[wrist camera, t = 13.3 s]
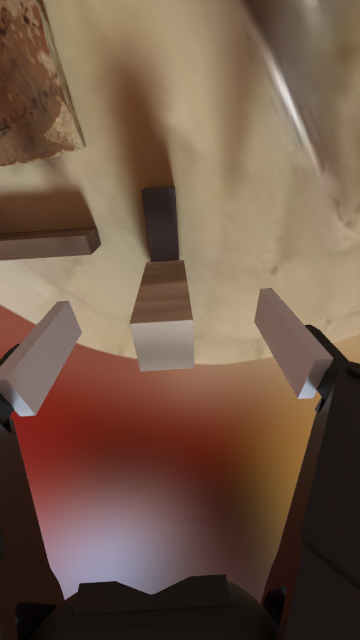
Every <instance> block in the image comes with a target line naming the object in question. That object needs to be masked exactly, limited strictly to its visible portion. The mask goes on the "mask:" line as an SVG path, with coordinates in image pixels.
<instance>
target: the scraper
mask: <svg viewBox="0 0 360 640" xmlns="http://www.w3.org/2000/svg"><path fill="white" fill-rule="evenodd" d="M142 198H143V205H144V213H145V220H146V228H147V235H148V242H149V250H150V257H151V262H146V266H145V270H144V273H143V277H142V280H141V284H140V288H139V291H138V295H137V299H136V302H135V306H134V309H133V313H132V317H131V320H130V328H131V333H132V337H133V341H134V345H135V350H136V354H137V358H138V362H139V367H140V371H151V370H166V369H182V368H194V350H193V317H192V311H191V304H190V298H189V291H188V285H187V278H186V272H185V265H184V260H179V250H178V232H177V214H176V196H175V186H171V187H155V188H145V189H143V190H142Z"/></svg>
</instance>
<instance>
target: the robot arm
mask: <svg viewBox="0 0 360 640" xmlns="http://www.w3.org/2000/svg"><path fill="white" fill-rule="evenodd" d="M254 322H255V324H256V326H257V327H258V329H259V331H260V333H261V334H262V336H263V338H264V340H265V341H266V343H267V345H268V347H269V349H270V350H271V352H272V354H273V356H274V357H275V359H276V361H277V363H278V364H279V366H280V368H281V370H282V372H283V373H284V375H285V377H286V379H287V381H288V382H289V384H290V386H291V388H292V389H293V391H294V393H295V394H296V396H297V398H298V399H302V398H313V397H314V395H315V393H316V391H318V392H319V393H320V395H321V396H322V398H321V399H320V401H319V403H318V405H317V407H316V408H315V410H316V411H317V412H316V416H315V419H314V423H313V426H312V430H311V434H310V437H309V441H308V445H307V448H306V452H305V455H304V459H303V462H302V466H301V470H300V473H299V477H298V481H297V484H296V488H295V491H294V495H293V498H292V502H291V506H290V509H289V513H288V516H287V520H286V524H285V527H284V531H283V535H282V538H281V542H280V545H279V549H278V552H277V555H276V557H275V559H274V562H273V564H272V566H271V569H270V572H269V575H268V578H267V581H266V585H265V588H264V592H263V595H262V599H261V602H260V603H259V602H258V600H257V599H256V598H254V597H253V596H252V595H251V594H250V593H249V592H247V591H246V590H245V589H244V588H242V587H240V586H239V585H237V584H235V583H233V582H231V581H228V580H226V575H225V574H224V575H207V576H191V577H188V578H186V579H184V580H182V581H180V582H178V583H176V584H174V585H172V586H170V587H168V588H166V589H164V590H162V591H160V592H158V593H156V594H153V595H150V594H147V593H144V592H142V591H139V590H137V589H134V588H131V587H129V586H126V585H124V584H121V583H118V582H116V581H112V582H96V583H80V584H79V589H78V592H77V593H75V594H74V595H72V596H71V597H69V598H68V599H66V600H64V596H63V593H62V590H61V587H60V584H59V582H58V580H57V578H56V577H55V575H54V574H53V572H52V570H51V568H50V566H49V562H48V559H47V555H46V551H45V547H44V543H43V539H42V535H41V531H40V527H39V523H38V519H37V515H36V511H35V507H34V503H33V499H32V495H31V490H30V487H29V482H28V479H27V474H26V470H25V466H24V462H23V459H22V454H21V451H20V446H19V443H18V438H17V434H16V430H15V427H14V422H13V420H12V418H11V417H10V415H11V413H12V412H13V410H15V411H16V412H17V413H18V414H19V415H20V416H32V415H36V414H37V412H38V410H39V408H40V406H41V405H42V403H43V401H44V399H45V397H46V396H47V394H48V392H49V390H50V388H51V387H52V385H53V383H54V381H55V380H56V378H57V376H58V374H59V372H60V371H61V369H62V367H63V365H64V363H65V362H66V359H67V358H68V356H69V354H70V352H71V351H72V349H73V347H74V346H75V344H76V342H77V340H78V338H79V337H80V335H81V333H82V332H81V329H80V327H79V325H78V322H77V320H76V317H75V315H74V312H73V310H72V308H71V305H70V303H69V301H60V302H57V303H56V304H55V305H54V306H53V307H52V309H51V310H50V311H49V312H48V313H47V314H46V315H45V317H44V318H43V319H42V320H41V321H40V322H39V323H38V324H37V326H36V327H35V328H34V329H33V330H32V331H31V333H30V334H29V335H28V336H27V337H26V338H25V339H24V341H23V342H22V343H21V344H17V345H16V346H14V347H13V348H11V349H10V350H9V351H8V352H7V353H6V354H5V355H4V356H3V358H2V359H0V640H360V364H359V363H354V362H349V361H348V360H347V358H346V357H345V356H344V355H343V354H342V353H341V352H340V351H339V350H338V349H337V348H336V347H335V346H334V345H333V344H332V343H330V341H329V339H328V338H326V336H325V335H324V334H323V333H322V332H321V331H320V330H319V329H317V328H315V327H314V326H312V325H304V324H303V323H302V322H301V321H300V320H299V319H298V318H297V316H296V315H295V314H294V313H293V312H292V311H291V310H290V308H289V307H288V306H287V305H286V304H285V303H284V302H283V300H282V299H281V298H280V297H279V296H278V295H277V294H276V293H275V291H274V290H273V289H272V288H266V289H260V294H259V299H258V305H257V310H256V315H255V321H254Z"/></svg>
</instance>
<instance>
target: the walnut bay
mask: <svg viewBox="0 0 360 640" xmlns="http://www.w3.org/2000/svg"><path fill="white" fill-rule="evenodd" d="M100 245H101V242H100V238H99V234H98V230H97V228H83V229H67V230H51V231H36V232H20V233H4V234H0V260H15V259H31V258H46V257H62V256H78V255H91V254H92V253H93V252H94V251H95V250H96V249H97V248H98V247H99V246H100Z"/></svg>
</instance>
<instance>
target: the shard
mask: <svg viewBox="0 0 360 640" xmlns="http://www.w3.org/2000/svg"><path fill="white" fill-rule="evenodd" d="M85 148H86V144H85V141H84V138H83V135H82V133H81V129H80V126H79V123H78V120H77V117H76V114H75V111H74V109H73V105H72V103H71V100H70V97H69V94H68V91H67V88H66V83H65V79H64V74H63V70H62V66H61V62H60V59H59V56H58V52H57V50H56V45H55V40H54V35H53V33H52V31H51V29H50V26H49V23H48V21H47V20H46V18H45V15H44V13H43V11H42V8H41V6H40V4H39V2H38V1H37V0H0V166H10V165H16V164H20V163H23V164H24V163H31V162H35V161H37V160H46V159H53V158H56V157H60V156H62V155H63V154H64V153H67V152H72V151H79V150H84V149H85Z"/></svg>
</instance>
